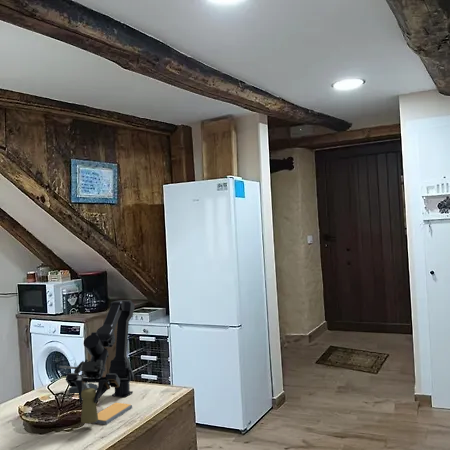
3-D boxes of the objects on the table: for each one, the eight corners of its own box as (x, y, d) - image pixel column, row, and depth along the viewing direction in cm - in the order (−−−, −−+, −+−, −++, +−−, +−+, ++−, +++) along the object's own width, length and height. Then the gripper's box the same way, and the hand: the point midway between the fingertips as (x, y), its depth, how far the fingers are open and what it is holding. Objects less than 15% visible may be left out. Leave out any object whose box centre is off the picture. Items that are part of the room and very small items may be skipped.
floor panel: (114, 405, 203) (114, 402, 203) (132, 408, 200) (132, 404, 200) (88, 421, 187) (88, 418, 187) (106, 424, 184) (106, 420, 184)
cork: (79, 418, 183) (78, 387, 183) (96, 415, 186) (95, 385, 185) (81, 424, 178) (80, 393, 177) (99, 421, 180) (98, 390, 180)
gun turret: (66, 383, 234) (66, 355, 234) (105, 386, 228) (104, 357, 227) (49, 392, 222) (48, 362, 222) (88, 396, 216) (88, 365, 215)
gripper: (66, 351, 186) (54, 392, 175) (116, 351, 184) (107, 392, 173) (76, 366, 194) (64, 406, 183) (124, 366, 192) (115, 407, 181)
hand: (87, 402), depth 180 cm, fingers closed on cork, 5 cm apart
